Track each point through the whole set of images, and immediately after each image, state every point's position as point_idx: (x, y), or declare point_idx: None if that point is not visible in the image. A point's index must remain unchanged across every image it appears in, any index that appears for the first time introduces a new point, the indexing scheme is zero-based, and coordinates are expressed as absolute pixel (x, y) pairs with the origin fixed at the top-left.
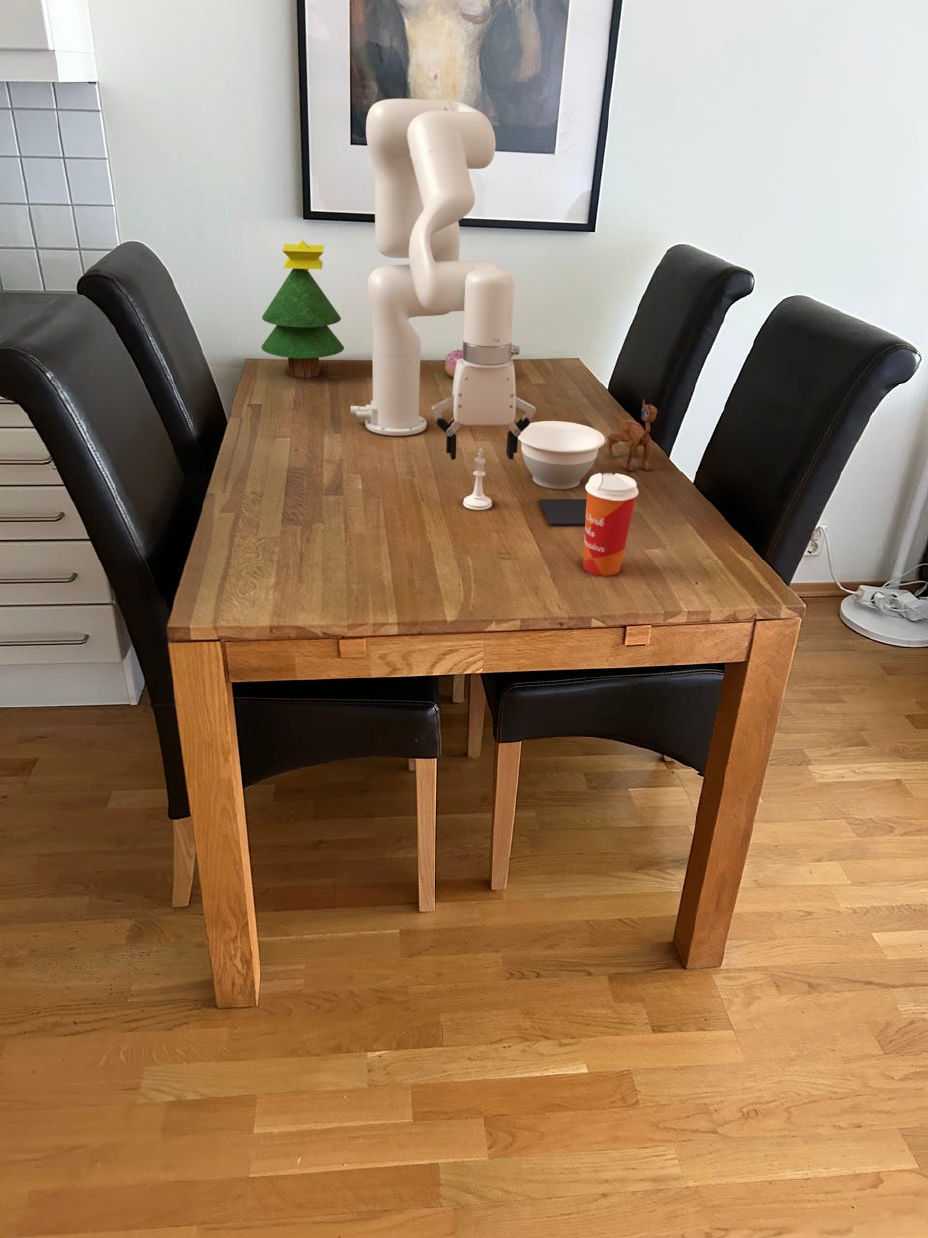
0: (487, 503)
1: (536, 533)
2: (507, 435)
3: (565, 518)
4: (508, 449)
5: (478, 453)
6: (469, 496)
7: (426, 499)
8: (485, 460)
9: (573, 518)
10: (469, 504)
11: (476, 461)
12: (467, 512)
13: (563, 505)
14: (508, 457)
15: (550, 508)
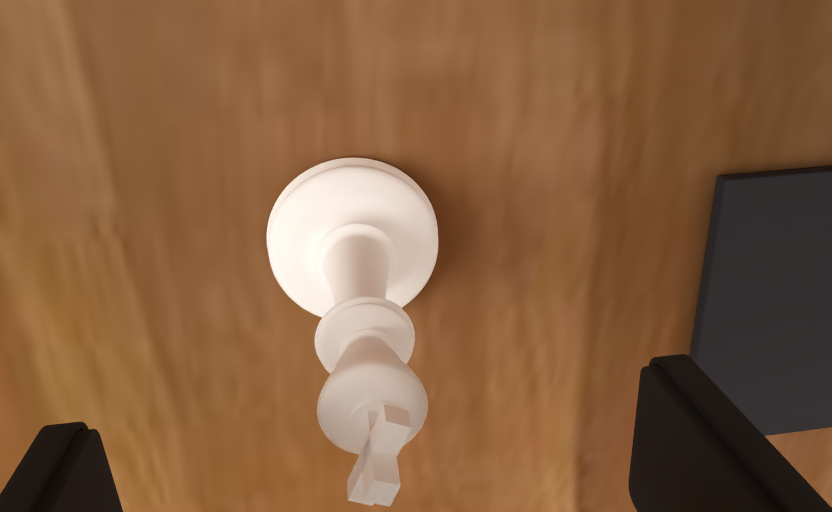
0: (409, 298)
1: (595, 502)
2: (748, 495)
3: (767, 395)
4: (666, 501)
5: (357, 495)
6: (302, 230)
7: (19, 190)
8: (423, 418)
9: (804, 389)
10: (303, 307)
11: (339, 444)
12: (294, 342)
13: (821, 253)
14: (632, 471)
15: (740, 297)
